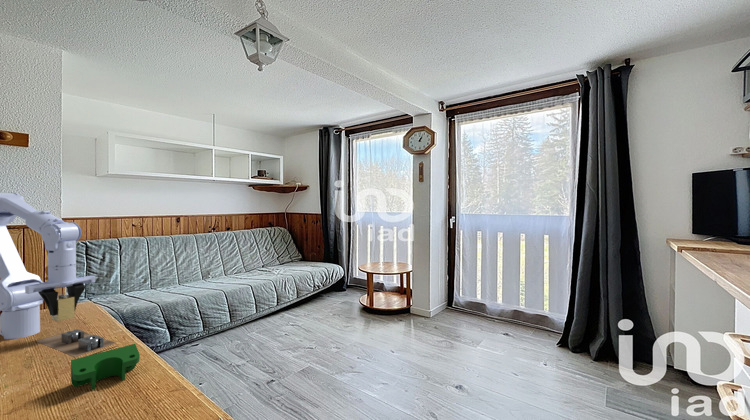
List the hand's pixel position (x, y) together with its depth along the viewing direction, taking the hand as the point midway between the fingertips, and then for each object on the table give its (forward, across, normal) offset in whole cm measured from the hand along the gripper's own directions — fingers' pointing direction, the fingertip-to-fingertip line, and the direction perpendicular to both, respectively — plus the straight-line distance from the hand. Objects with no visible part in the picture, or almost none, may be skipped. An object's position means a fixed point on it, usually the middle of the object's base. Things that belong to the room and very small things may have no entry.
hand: (62, 312), depth 92 cm
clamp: (+8, -6, -36) cm, 37 cm away
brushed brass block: (+2, 0, 0) cm, 2 cm away
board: (+8, 0, -7) cm, 11 cm away
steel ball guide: (+7, 0, -11) cm, 13 cm away
